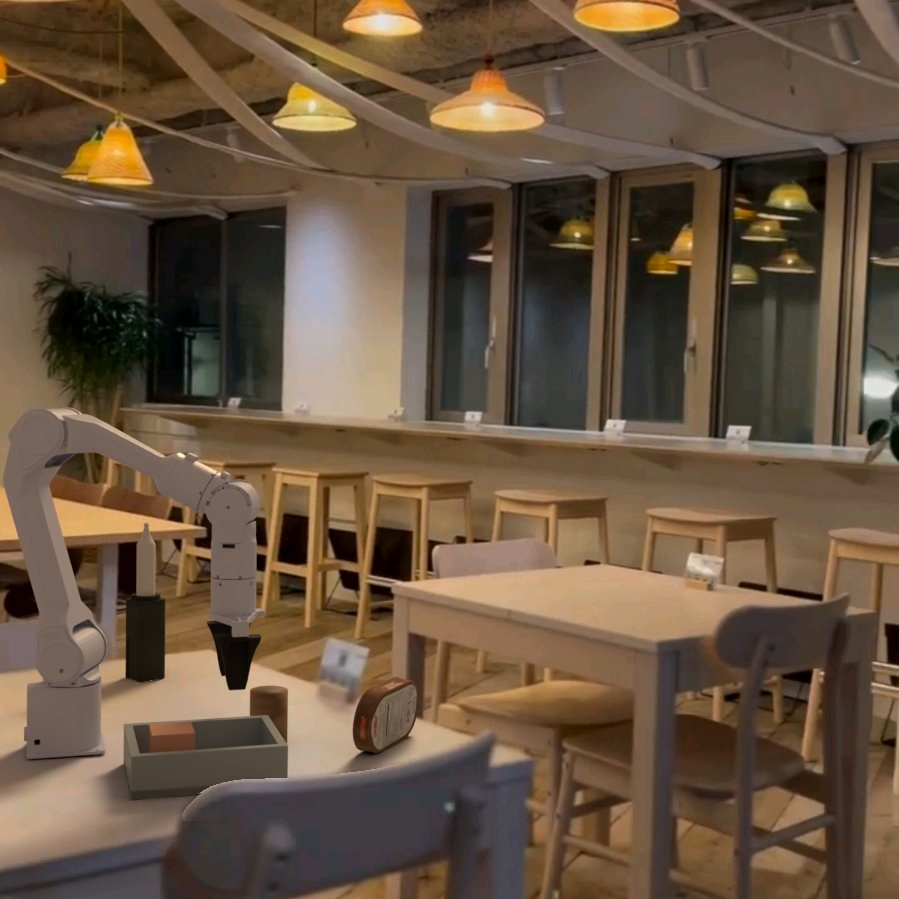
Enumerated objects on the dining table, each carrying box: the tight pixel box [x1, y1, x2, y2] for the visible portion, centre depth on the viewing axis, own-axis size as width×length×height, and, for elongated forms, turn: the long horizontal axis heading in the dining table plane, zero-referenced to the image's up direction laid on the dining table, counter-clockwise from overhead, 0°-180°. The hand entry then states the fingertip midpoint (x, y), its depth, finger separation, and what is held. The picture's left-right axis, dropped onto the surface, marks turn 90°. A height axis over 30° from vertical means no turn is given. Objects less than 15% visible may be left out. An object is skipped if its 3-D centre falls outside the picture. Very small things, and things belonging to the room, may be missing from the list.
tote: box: [123, 715, 289, 801], centre depth 151 cm, size 18×14×5 cm
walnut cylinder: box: [249, 685, 289, 744], centre depth 166 cm, size 5×5×7 cm
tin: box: [352, 676, 419, 754], centre depth 166 cm, size 15×3×8 cm, turn 156°
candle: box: [124, 522, 166, 683], centre depth 199 cm, size 5×5×25 cm
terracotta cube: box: [149, 722, 195, 753], centre depth 150 cm, size 5×5×5 cm
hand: (232, 682), depth 159 cm, fingers open, 7 cm apart
